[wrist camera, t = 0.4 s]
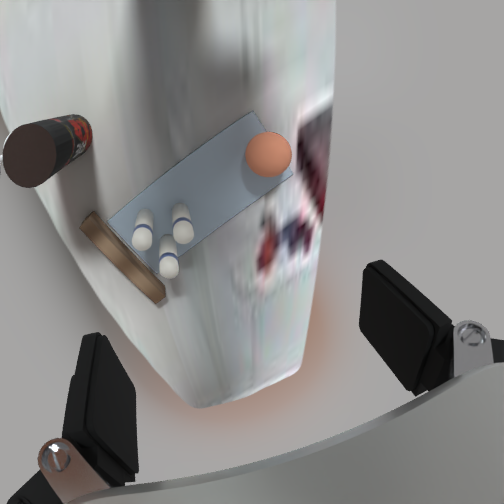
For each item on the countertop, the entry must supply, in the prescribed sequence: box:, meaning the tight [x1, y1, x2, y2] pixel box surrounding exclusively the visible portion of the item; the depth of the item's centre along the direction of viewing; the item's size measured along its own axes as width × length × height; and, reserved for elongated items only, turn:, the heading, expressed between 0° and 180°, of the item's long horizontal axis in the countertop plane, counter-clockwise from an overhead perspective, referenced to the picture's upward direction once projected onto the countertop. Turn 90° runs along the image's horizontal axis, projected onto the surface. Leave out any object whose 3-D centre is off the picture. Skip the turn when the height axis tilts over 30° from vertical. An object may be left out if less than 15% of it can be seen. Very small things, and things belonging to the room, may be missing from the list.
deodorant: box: [2, 114, 92, 188], centre depth 29 cm, size 6×6×15 cm
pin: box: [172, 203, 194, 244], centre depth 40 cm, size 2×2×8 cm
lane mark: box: [107, 111, 293, 274], centre depth 44 cm, size 11×25×1 cm, turn 123°
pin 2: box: [159, 234, 179, 279], centre depth 42 cm, size 2×2×8 cm
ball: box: [245, 132, 292, 177], centre depth 41 cm, size 6×6×6 cm
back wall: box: [80, 211, 166, 304], centre depth 43 cm, size 16×2×3 cm, turn 33°
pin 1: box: [132, 209, 154, 251], centre depth 39 cm, size 2×2×8 cm
